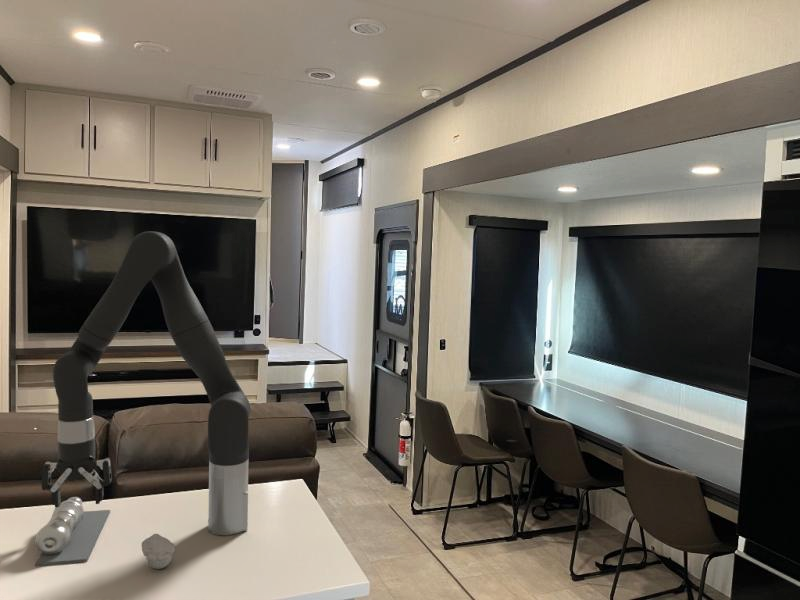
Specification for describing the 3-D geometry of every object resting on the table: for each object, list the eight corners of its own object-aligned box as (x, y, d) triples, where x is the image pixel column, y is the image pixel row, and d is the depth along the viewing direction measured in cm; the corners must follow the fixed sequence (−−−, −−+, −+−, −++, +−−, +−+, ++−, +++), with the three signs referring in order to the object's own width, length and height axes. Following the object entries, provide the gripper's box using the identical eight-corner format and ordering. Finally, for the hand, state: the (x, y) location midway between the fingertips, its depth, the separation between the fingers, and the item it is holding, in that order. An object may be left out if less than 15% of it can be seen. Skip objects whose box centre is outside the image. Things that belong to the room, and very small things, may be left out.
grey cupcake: (148, 558, 132) (149, 528, 132) (180, 560, 132) (180, 530, 131) (135, 573, 126) (135, 542, 126) (168, 576, 126) (168, 544, 125)
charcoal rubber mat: (110, 512, 153) (110, 509, 153) (87, 561, 130) (87, 558, 130) (66, 514, 150) (66, 512, 150) (35, 566, 127) (35, 563, 127)
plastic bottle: (32, 560, 129) (59, 517, 148) (67, 557, 131) (89, 514, 150) (31, 531, 128) (58, 491, 147) (66, 528, 130) (89, 490, 149)
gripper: (113, 430, 144) (114, 495, 146) (46, 433, 141) (48, 500, 142) (106, 440, 137) (108, 508, 139) (36, 444, 133) (38, 514, 135)
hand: (78, 504), depth 140 cm, fingers open, 8 cm apart
